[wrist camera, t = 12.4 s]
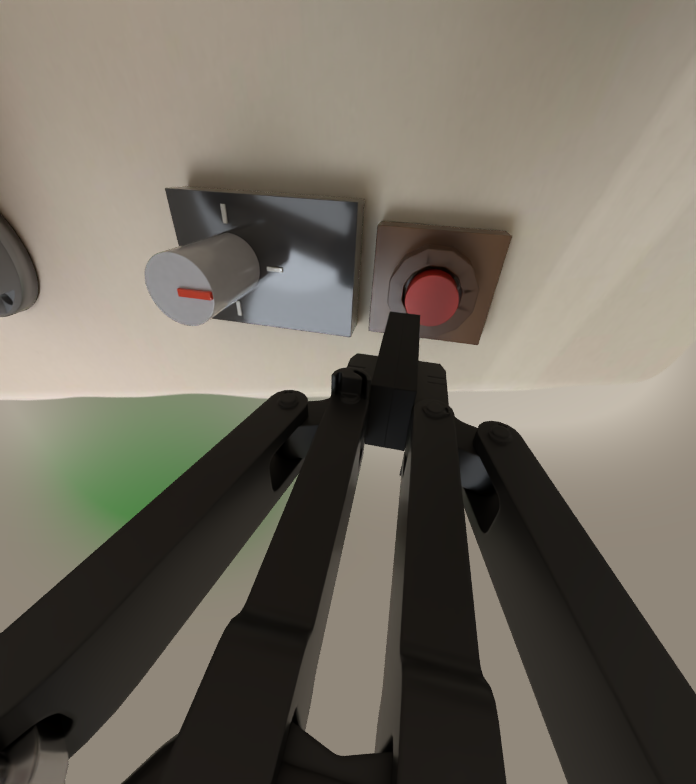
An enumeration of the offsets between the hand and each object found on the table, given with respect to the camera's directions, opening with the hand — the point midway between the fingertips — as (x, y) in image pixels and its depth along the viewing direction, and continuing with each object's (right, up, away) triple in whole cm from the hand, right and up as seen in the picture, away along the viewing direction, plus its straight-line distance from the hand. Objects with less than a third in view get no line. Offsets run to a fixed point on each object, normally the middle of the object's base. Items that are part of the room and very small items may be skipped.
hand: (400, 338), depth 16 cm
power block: (+5, +7, +12) cm, 15 cm away
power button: (+4, +5, +10) cm, 12 cm away
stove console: (-9, +10, +14) cm, 20 cm away
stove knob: (-13, +9, +12) cm, 20 cm away
